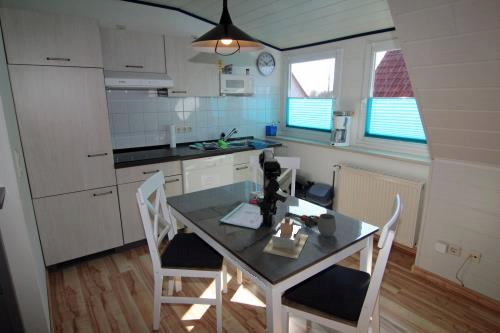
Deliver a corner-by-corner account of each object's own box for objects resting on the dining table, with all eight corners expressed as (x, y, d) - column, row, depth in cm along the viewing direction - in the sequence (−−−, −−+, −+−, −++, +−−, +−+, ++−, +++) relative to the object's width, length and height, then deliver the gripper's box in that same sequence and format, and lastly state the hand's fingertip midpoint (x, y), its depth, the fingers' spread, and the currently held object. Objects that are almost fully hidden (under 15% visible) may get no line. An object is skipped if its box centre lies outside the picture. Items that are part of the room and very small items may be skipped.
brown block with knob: (283, 227, 144) (283, 215, 143) (293, 229, 142) (293, 217, 141) (280, 232, 140) (280, 219, 138) (290, 234, 138) (291, 221, 136)
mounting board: (277, 231, 156) (277, 229, 155) (308, 236, 149) (308, 235, 149) (263, 251, 136) (263, 250, 136) (297, 259, 130) (297, 257, 130)
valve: (333, 226, 165) (318, 231, 154) (295, 215, 183) (280, 219, 173) (334, 215, 164) (319, 220, 154) (296, 205, 182) (280, 208, 172)
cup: (321, 228, 158) (322, 211, 156) (338, 233, 152) (339, 215, 150) (313, 235, 151) (314, 217, 149) (330, 240, 145) (331, 222, 143)
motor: (282, 231, 153) (282, 218, 151) (302, 235, 149) (302, 221, 148) (271, 247, 138) (272, 232, 136) (293, 251, 134) (294, 236, 132)
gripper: (281, 193, 132) (281, 225, 136) (291, 181, 149) (290, 209, 153) (258, 190, 136) (258, 221, 140) (270, 178, 153) (270, 206, 157)
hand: (270, 214), depth 147 cm, fingers open, 9 cm apart
